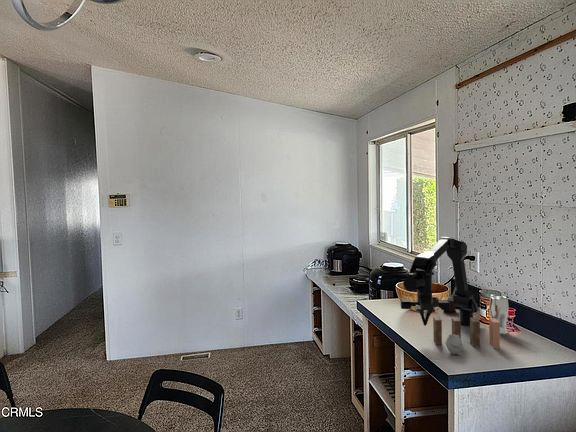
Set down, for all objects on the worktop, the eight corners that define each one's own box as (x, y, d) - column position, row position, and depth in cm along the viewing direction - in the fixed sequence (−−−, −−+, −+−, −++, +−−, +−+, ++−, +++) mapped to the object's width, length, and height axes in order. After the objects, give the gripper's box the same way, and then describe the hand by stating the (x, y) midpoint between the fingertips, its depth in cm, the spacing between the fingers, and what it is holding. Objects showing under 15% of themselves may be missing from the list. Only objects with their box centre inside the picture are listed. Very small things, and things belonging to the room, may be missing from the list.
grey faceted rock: (461, 350, 150) (461, 332, 150) (465, 357, 143) (465, 339, 143) (444, 349, 152) (444, 331, 151) (447, 356, 145) (447, 338, 144)
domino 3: (473, 346, 153) (473, 321, 153) (470, 342, 158) (470, 317, 158) (480, 347, 153) (479, 321, 152) (476, 342, 158) (476, 317, 157)
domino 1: (435, 344, 156) (435, 320, 156) (433, 340, 161) (433, 316, 161) (441, 345, 156) (441, 320, 155) (439, 340, 161) (439, 316, 160)
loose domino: (492, 347, 152) (492, 322, 151) (489, 342, 157) (489, 318, 156) (499, 348, 151) (499, 322, 151) (495, 343, 156) (495, 318, 156)
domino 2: (454, 345, 155) (454, 320, 154) (451, 341, 160) (451, 316, 159) (460, 346, 154) (460, 321, 154) (458, 341, 159) (457, 317, 159)
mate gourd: (440, 310, 202) (439, 281, 202) (455, 309, 202) (455, 280, 201) (445, 314, 195) (445, 284, 194) (461, 314, 195) (461, 284, 194)
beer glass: (506, 330, 171) (506, 295, 170) (509, 335, 164) (509, 300, 163) (488, 328, 173) (488, 295, 172) (491, 334, 166) (491, 299, 166)
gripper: (401, 291, 153) (402, 331, 153) (453, 292, 149) (453, 333, 149) (399, 285, 163) (400, 322, 164) (447, 285, 160) (448, 323, 160)
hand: (424, 325), depth 159 cm, fingers closed
